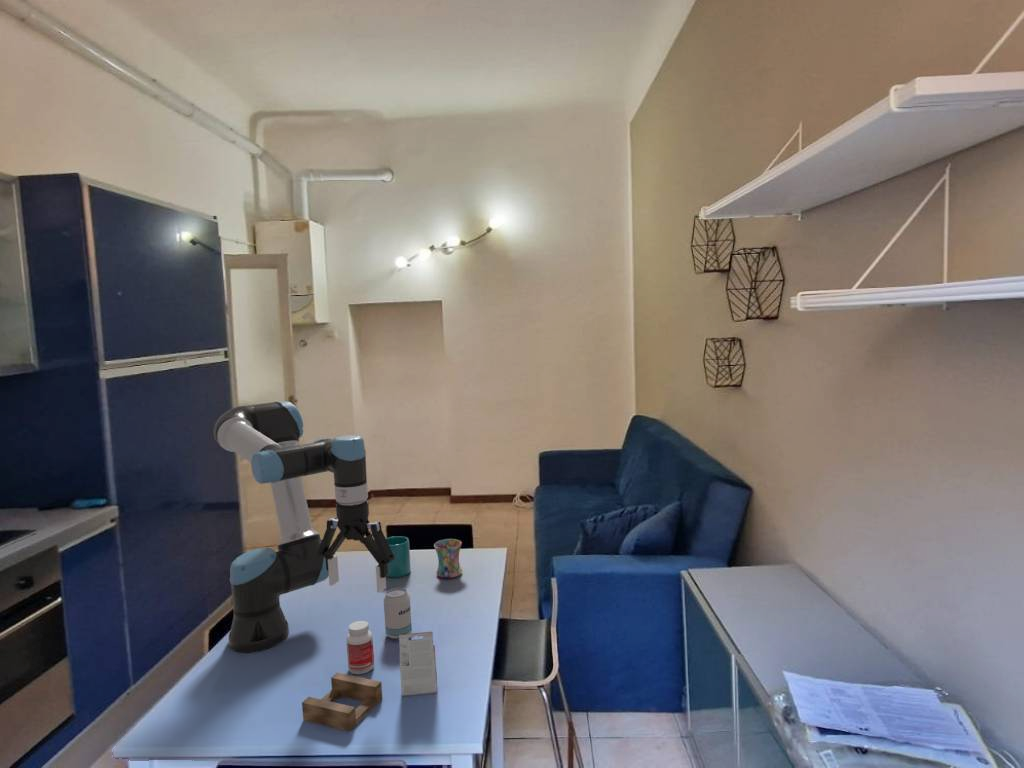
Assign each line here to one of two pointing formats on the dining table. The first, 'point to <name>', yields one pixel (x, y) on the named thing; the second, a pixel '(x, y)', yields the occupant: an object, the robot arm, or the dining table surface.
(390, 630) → the beverage can
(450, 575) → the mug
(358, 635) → the pill bottle
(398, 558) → the cup
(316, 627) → the dining table surface
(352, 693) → the walnut holder
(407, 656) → the ink box
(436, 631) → the dining table surface
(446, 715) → the dining table surface
